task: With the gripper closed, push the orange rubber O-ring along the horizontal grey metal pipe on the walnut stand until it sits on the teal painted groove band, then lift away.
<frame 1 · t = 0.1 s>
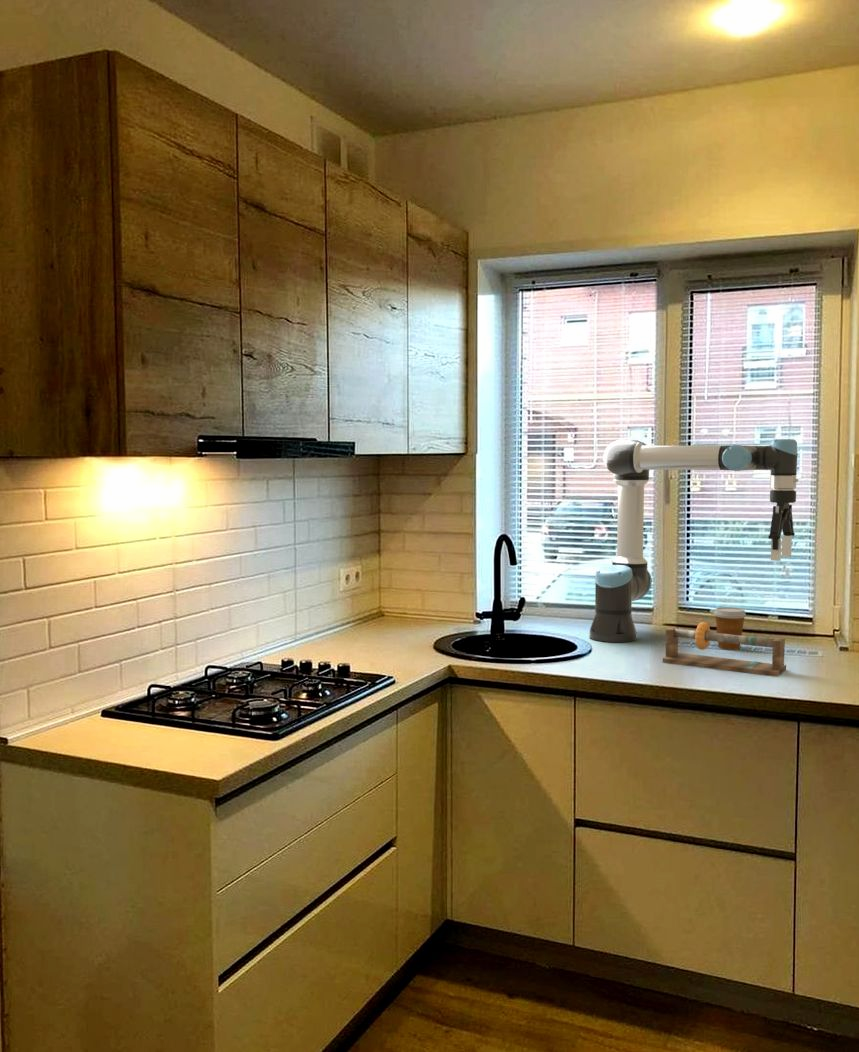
hand: (781, 558, 289), 28 cm above the table, fingers open, 13 cm apart
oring: (702, 635, 269), point 8 cm above the table, slide at -6.0 cm
pipe stand: (723, 665, 267), on the table
disposable coffee cup: (729, 648, 292), on the table
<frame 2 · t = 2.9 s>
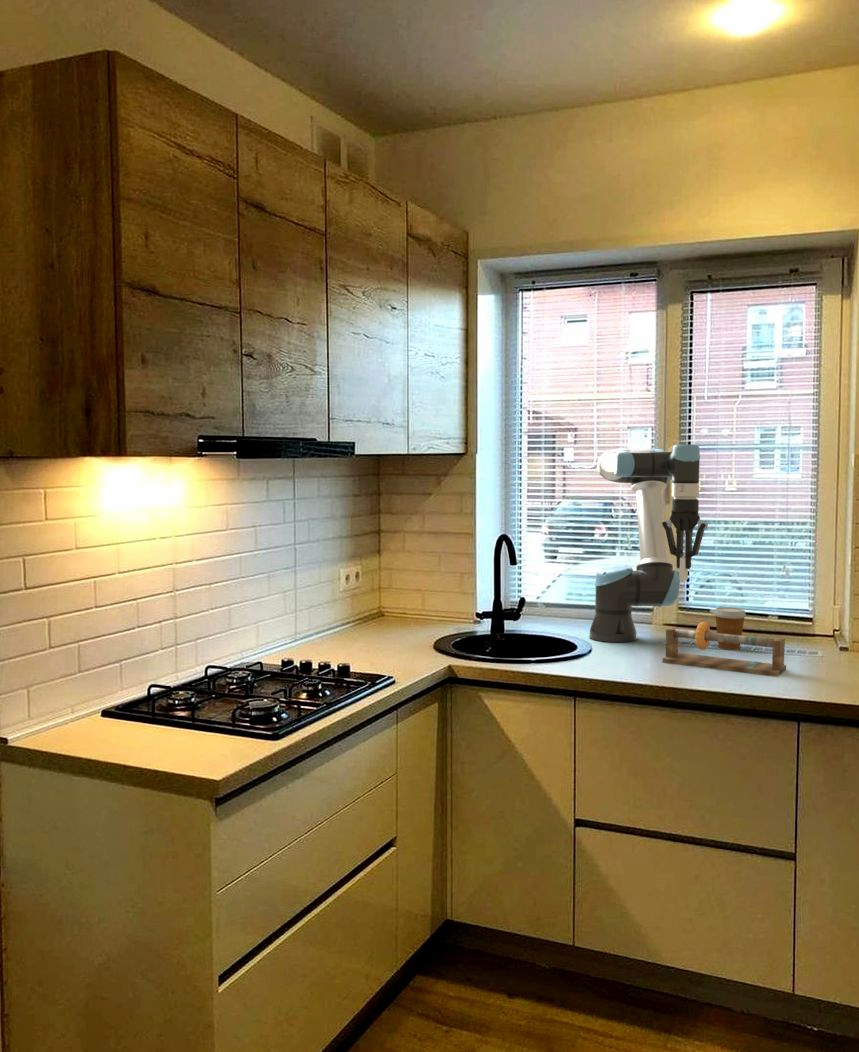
hand: (683, 579, 271), 24 cm above the table, fingers closed
nothing on the table moved.
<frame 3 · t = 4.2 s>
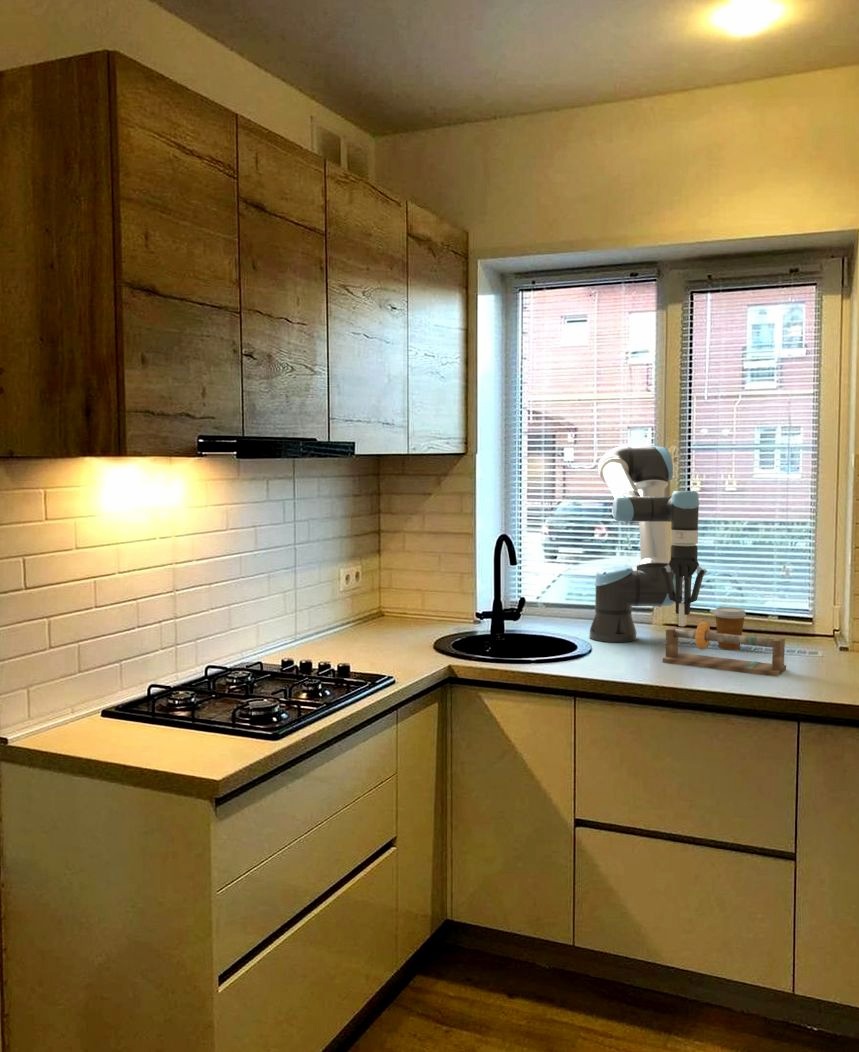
hand: (682, 625, 273), 10 cm above the table, fingers closed
nothing on the table moved.
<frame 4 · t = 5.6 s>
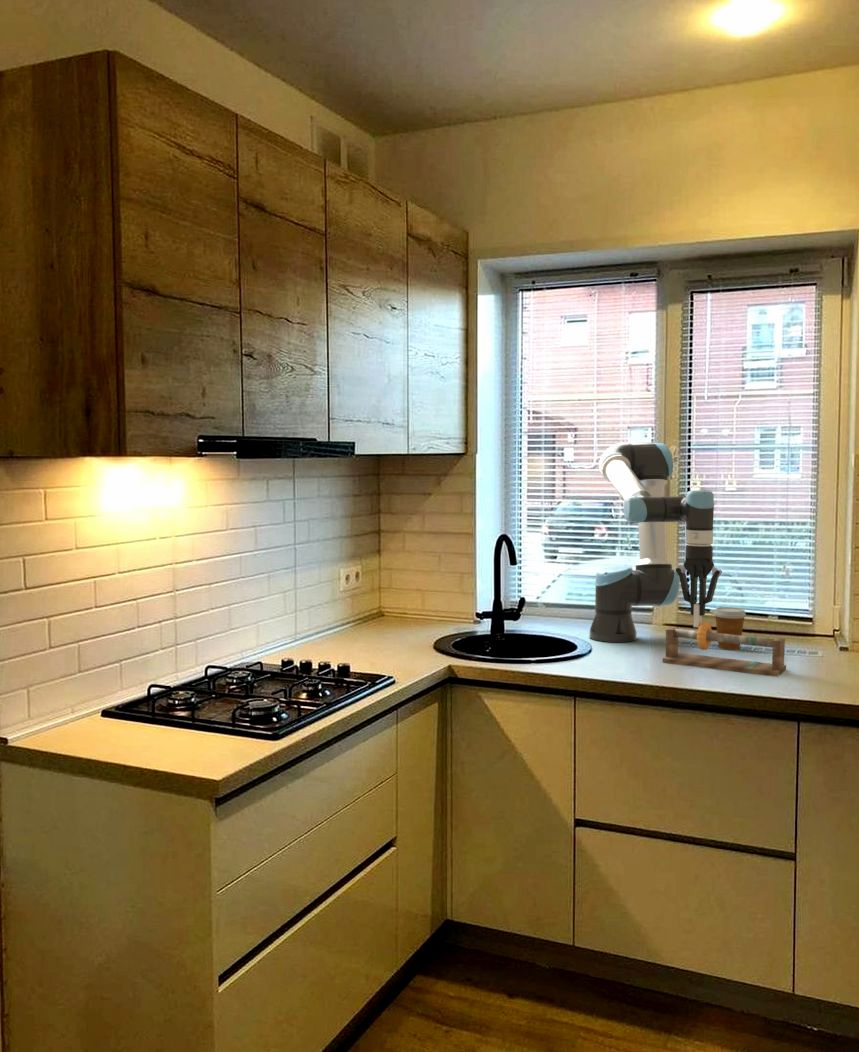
hand: (697, 626, 270), 11 cm above the table, fingers closed
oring: (704, 635, 269), point 8 cm above the table, slide at -5.5 cm, touching gripper
everything else where it was.
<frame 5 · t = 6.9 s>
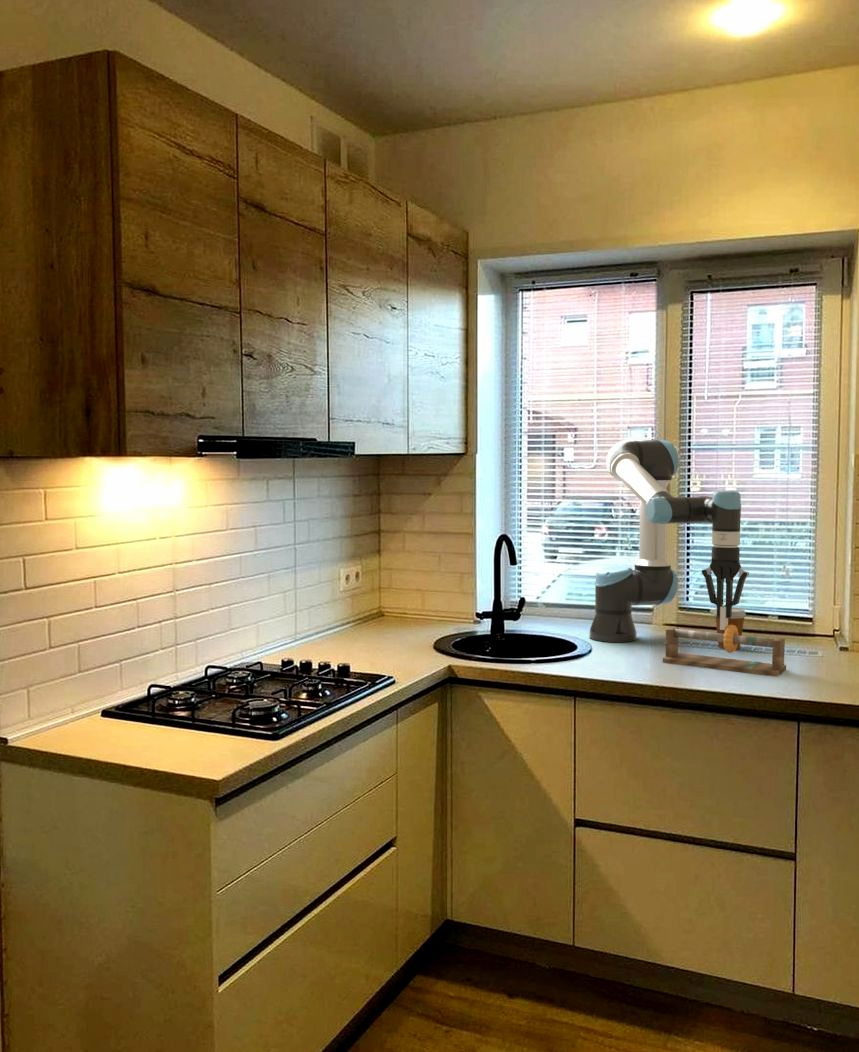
hand: (723, 629, 266), 11 cm above the table, fingers closed
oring: (730, 638, 265), point 8 cm above the table, slide at 2.0 cm, touching gripper
everything else where it was.
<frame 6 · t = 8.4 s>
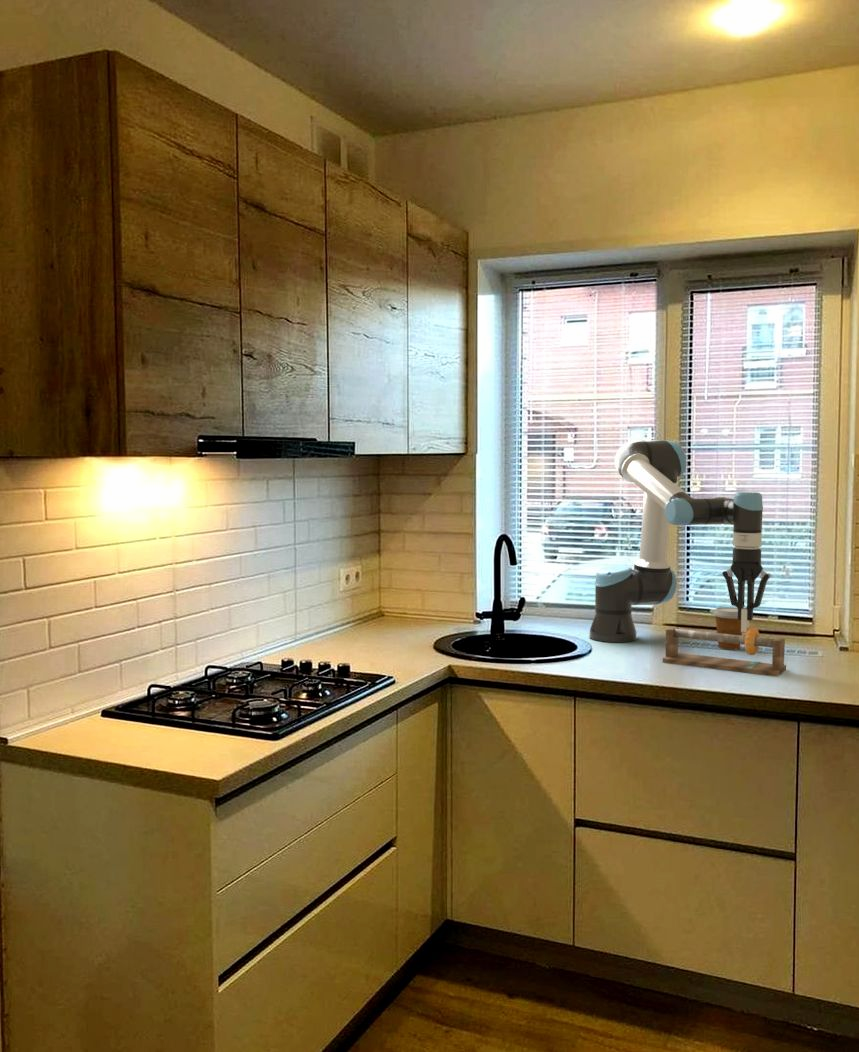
hand: (744, 631, 263), 10 cm above the table, fingers closed
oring: (752, 641, 262), point 8 cm above the table, slide at 7.9 cm, touching gripper
everything else where it was.
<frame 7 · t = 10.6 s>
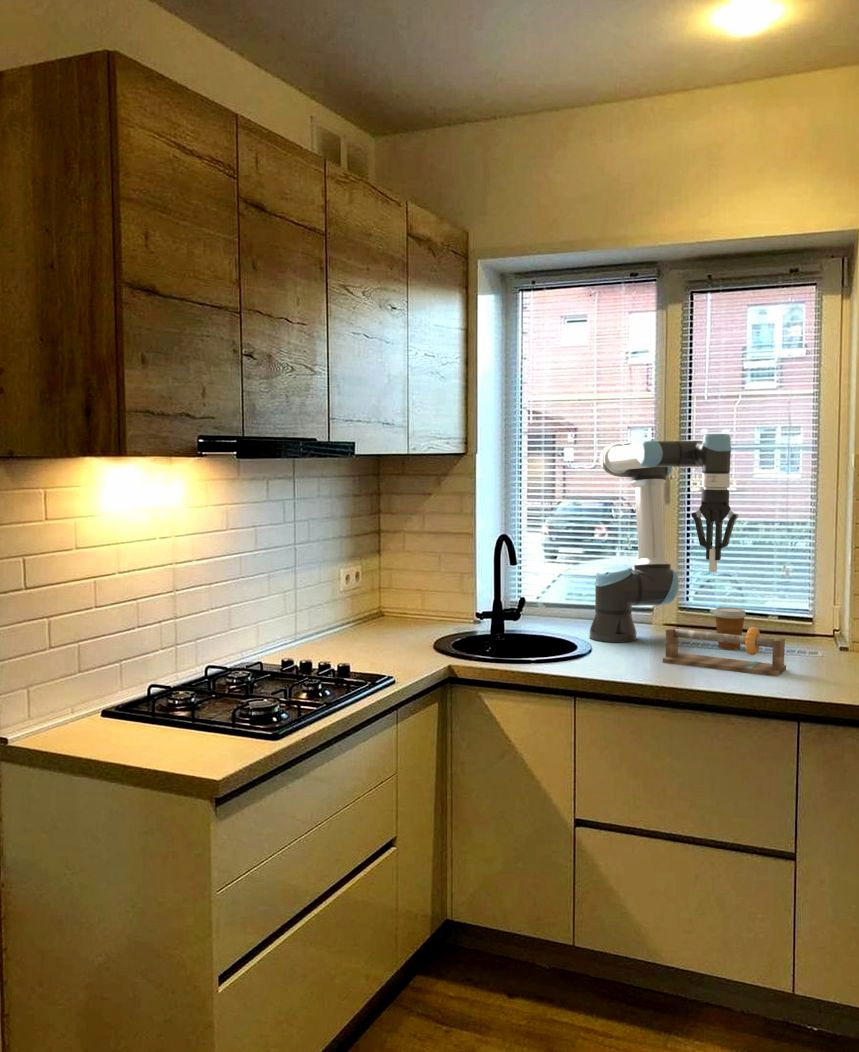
hand: (712, 571, 267), 27 cm above the table, fingers closed
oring: (752, 641, 262), point 8 cm above the table, slide at 8.0 cm
everything else where it was.
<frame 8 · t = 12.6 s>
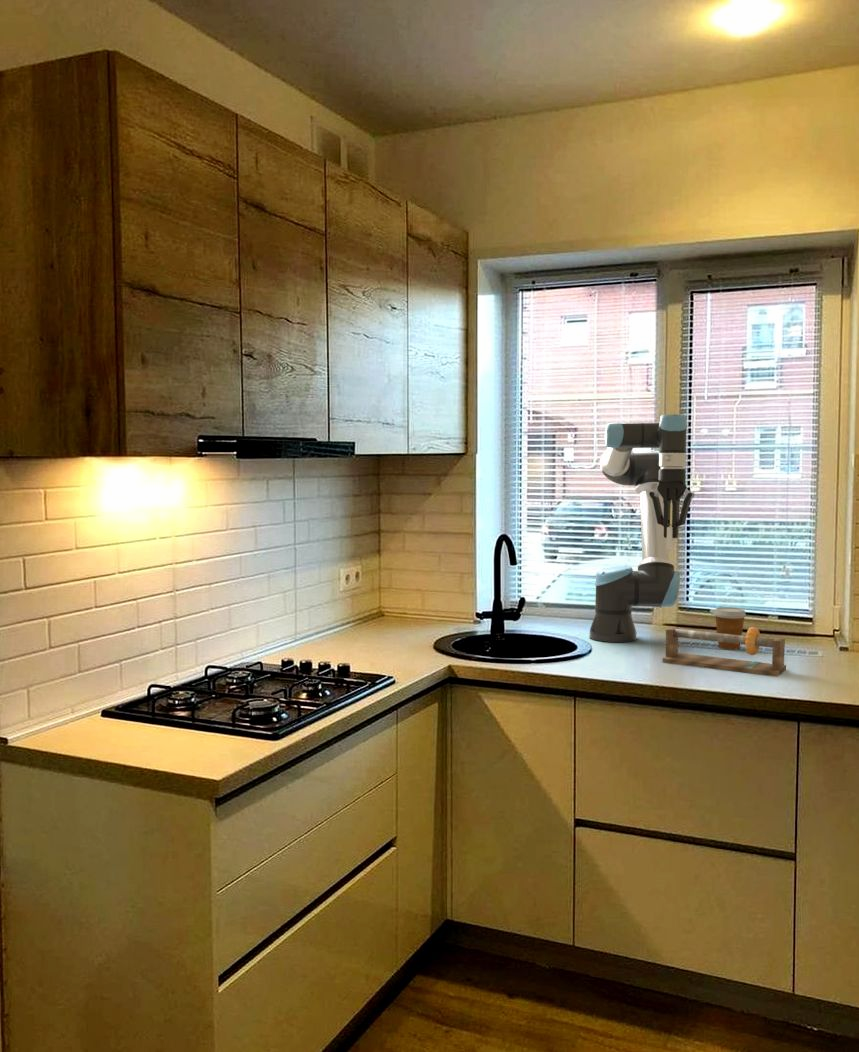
hand: (670, 549, 273), 32 cm above the table, fingers closed
nothing on the table moved.
at the end: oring slide at 8.0 cm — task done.
